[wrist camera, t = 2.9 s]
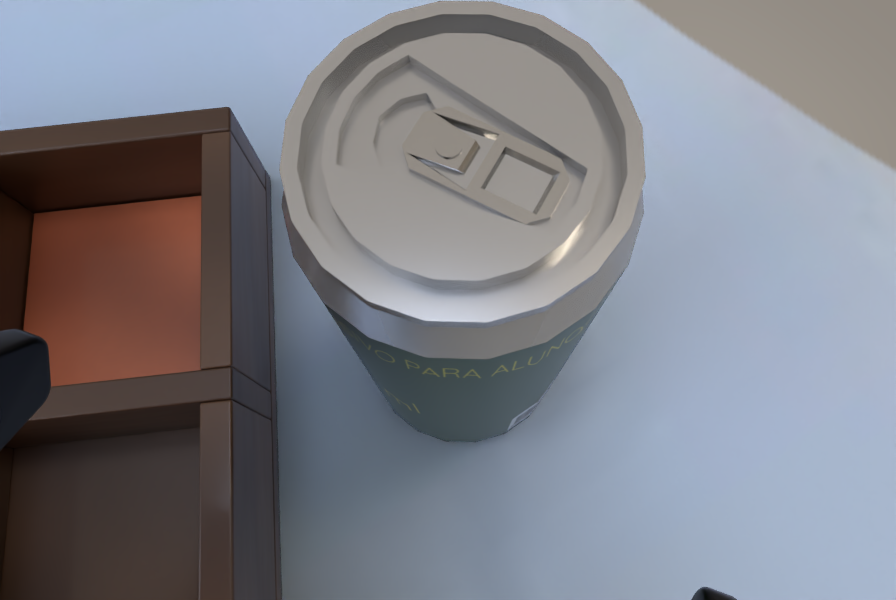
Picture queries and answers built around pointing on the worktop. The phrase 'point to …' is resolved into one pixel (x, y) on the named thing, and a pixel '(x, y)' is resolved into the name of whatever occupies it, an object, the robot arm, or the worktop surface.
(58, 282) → the rack
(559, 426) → the worktop surface
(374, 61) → the beer can
